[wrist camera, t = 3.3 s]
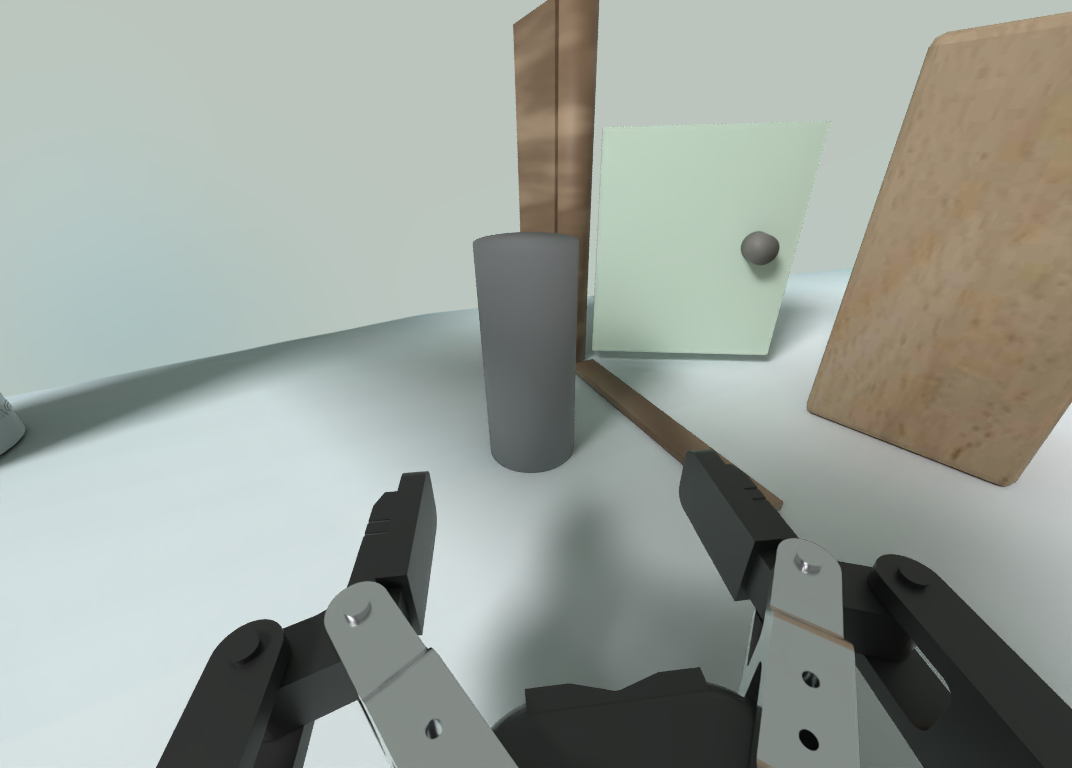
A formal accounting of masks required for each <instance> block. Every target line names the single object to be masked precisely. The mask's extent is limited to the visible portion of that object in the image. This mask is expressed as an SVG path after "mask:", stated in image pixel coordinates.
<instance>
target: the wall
mask: <svg viewBox="0 0 1072 768" xmlns="http://www.w3.org/2000/svg"><path fill="white" fill-rule="evenodd" d="M598 17H599V0H547V1H546V2H545V3H543V4H542V5H540V6H539V7H537V8H536V9H535V10H533V11H532V12H530V13H529V14H528V15H526V16H525V17H523V18H522V19H520V20H519V21H518V22H516V23H515V24H513V31H514V60H515V86H516V87H515V89H516V117H517V146H518V174H519V202H520V203H519V204H520V232H548V233H559V234H566V235H570V236H574V237H576V238H578V239H579V264H578V299H577V333H576V368H575V373H576V374H577V375H579V376H580V377H581V378H582V379H583V380H584V381H586V382H587V383H588V384H589V385H590V386H591V387H593V388H594V389H595V390H596V391H597V392H599V393H600V394H601V395H602V396H603V397H604V398H606V399H607V400H608V401H609V402H610V403H611V404H613V405H614V406H615V407H616V408H617V409H618V410H620V411H621V412H622V413H623V414H624V415H625V416H627V417H628V418H629V419H630V420H631V421H632V422H634V423H635V424H636V425H637V426H638V427H639V428H641V429H642V430H643V431H644V432H645V433H647V434H648V435H649V436H650V437H651V438H652V439H654V440H655V441H656V442H657V443H658V444H659V445H661V446H662V447H663V448H664V449H665V450H666V451H668V452H669V453H670V454H671V455H672V456H673V457H675V458H676V459H677V460H678V461H679V462H680V463H682V464H683V465H684V460H685V455H686V453H687V452H688V451H693V450H706V449H712V448H711V447H709V446H708V445H707V444H705V443H704V442H703V441H701V440H700V439H699V438H697V437H696V436H695V435H693V434H692V433H691V432H689V431H688V430H687V429H685V428H684V427H683V426H681V425H680V424H679V423H677V422H676V421H675V420H673V419H672V418H671V417H669V416H668V415H667V414H665V413H664V412H663V411H661V410H660V409H659V408H657V407H656V406H655V405H653V404H652V403H651V402H649V401H648V400H647V399H645V398H644V397H643V396H641V395H640V394H639V393H637V392H636V391H635V390H633V389H632V388H631V387H629V386H628V385H627V384H625V383H624V382H623V381H621V380H620V379H619V378H617V377H616V376H615V375H613V374H612V373H611V372H609V371H608V370H607V369H605V368H604V367H603V366H601V365H600V364H599V363H597V362H596V361H595V360H593V359H591V360H587V361H583V360H584V358H585V335H586V311H587V285H588V260H589V237H590V212H591V188H592V186H591V185H592V163H593V138H594V115H595V111H594V110H595V90H596V89H595V88H596V63H597V40H598ZM717 454H718V455H719V456H720V458H721V459H722V460H723V461H724V463H725V464H732V463H731V462H729V461H728V460H727V459H725V458H724V457H723V456H721V455H720V454H719V453H717ZM734 466H735V465H734ZM735 467H736V466H735ZM738 469H739V468H738ZM749 478H750V479H751V480H752V481H753V482H754V484H755V485H756V486H757V489H758V490H760V491H761V492H762V494H763V495H764V496H765V497H766V500H768V501H769V502H770V503H771V505H772V506H773V507H774V508H775V510H776V511H778V510H780V509H781V506H782V504H783V501H782V500H780V499H779V498H778V497H776V496H775V495H774V494H772V493H771V492H770V491H768V490H767V489H766V488H764V487H763V486H762V485H760V484H759V483H757V482H756V481H755V480H753V479H752V478H751V477H749Z"/></svg>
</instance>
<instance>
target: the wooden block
mask: <svg viewBox="0 0 1072 768" xmlns="http://www.w3.org/2000/svg"><path fill="white" fill-rule="evenodd" d="M1071 402H1072V12H1067V13H1061V14H1054V15H1048V16H1043V17H1036V18H1030V19H1024V20H1018V21H1012V22H1006V23H1000V24H994V25H987V26H981V27H975V28H969V29H963V30H957V31H951V32H947V33H945V34H943V35H941V36H939V37H937V38H935V40H934V41H933V43H932V44H931V46H930V47H929V48H928V51H927V54H926V57H925V60H924V63H923V66H922V69H921V72H920V75H919V77H918V80H917V83H916V86H915V89H914V92H913V95H912V98H911V101H910V104H909V107H908V109H907V112H906V115H905V118H904V121H903V125H902V127H901V131H900V133H899V136H898V139H897V142H896V145H895V147H894V151H893V154H892V156H891V160H890V162H889V165H888V168H887V171H886V174H885V177H884V180H883V183H882V186H881V189H880V191H879V194H878V197H877V200H876V203H875V206H874V209H873V212H872V215H871V218H870V221H869V224H868V226H867V230H866V232H865V235H864V238H863V241H862V244H861V247H860V250H859V253H858V256H857V259H856V262H855V264H854V267H853V270H852V273H851V276H850V279H849V282H848V285H847V288H846V291H845V294H844V297H843V299H842V302H841V305H840V308H839V311H838V314H837V317H836V320H835V323H834V326H833V329H832V332H831V335H830V337H829V340H828V343H827V346H826V349H825V352H824V355H823V358H822V361H821V364H820V367H819V370H818V373H817V375H816V378H815V381H814V384H813V387H812V390H811V393H810V396H809V399H808V402H807V410H808V411H810V412H811V413H813V414H816V415H819V416H821V417H824V418H826V419H829V420H832V421H834V422H837V423H839V424H842V425H845V426H847V427H850V428H852V429H855V430H857V431H860V432H863V433H865V434H868V435H870V436H873V437H876V438H878V439H881V440H883V441H886V442H888V443H891V444H894V445H896V446H899V447H901V448H904V449H907V450H909V451H912V452H914V453H917V454H919V455H922V456H925V457H927V458H930V459H932V460H935V461H938V462H940V463H943V464H945V465H948V466H950V467H953V468H956V469H958V470H961V471H963V472H966V473H969V474H971V475H974V476H976V477H979V478H981V479H984V480H987V481H989V482H992V483H994V484H997V485H1002V486H1008V485H1010V484H1012V483H1015V482H1016V481H1017V480H1018V478H1019V477H1020V475H1021V474H1022V473H1023V471H1024V470H1025V468H1026V467H1027V465H1028V464H1029V463H1030V461H1031V460H1032V458H1033V457H1034V455H1035V454H1036V453H1037V451H1038V450H1039V448H1040V447H1041V445H1042V444H1043V442H1044V441H1045V440H1046V438H1047V437H1048V435H1049V434H1050V432H1051V431H1052V430H1053V428H1054V427H1055V425H1056V424H1057V422H1058V421H1059V419H1060V418H1061V417H1062V415H1063V414H1064V412H1065V411H1066V409H1067V408H1068V407H1069V405H1070V404H1071Z"/></svg>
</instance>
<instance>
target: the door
mask: <svg viewBox="0 0 1072 768" xmlns="http://www.w3.org/2000/svg"><path fill="white" fill-rule="evenodd" d="M829 125H830V121H823V122H788V123H753V124H752V123H749V124H716V125H715V124H713V125H679V126H678V125H677V126H640V127H605V128H603V132H602V153H601V174H600V193H599V215H598V234H597V254H596V274H595V276H596V277H595V294H594V314H593V335H592V351H629V352H667V353H705V354H744V355H767V354H768V350H769V347H770V343H771V339H772V336H773V332H774V328H775V325H776V321H777V317H778V314H779V310H780V306H781V303H782V299H783V295H784V291H785V288H786V284H787V280H788V277H789V273H790V269H791V266H792V262H793V258H794V255H795V251H796V247H797V243H798V240H799V236H800V232H801V229H802V225H803V221H804V217H805V214H806V210H807V207H808V202H809V199H810V195H811V192H812V188H813V184H814V181H815V176H816V173H817V170H818V166H819V162H820V158H821V155H822V151H823V147H824V144H825V140H826V136H827V133H828V129H829Z"/></svg>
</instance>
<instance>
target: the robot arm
mask: <svg viewBox="0 0 1072 768" xmlns="http://www.w3.org/2000/svg"><path fill="white" fill-rule="evenodd" d="M25 429H26V428H25V426H24V424H23V423H22V421H21V420H20V419H19V417H18V416H17V415H16V413H15V412H14V410H13V409H12V406H11V405H10V403H9V402H8V401H7V400H6V399H5V398H4V397H3V395H2V394H1V393H0V454H2V453H4V452H5V451H7V450H8V449H9V448H11V447H12V446H13V445H14V444H16V443H17V442H18V441H19V440H20V439H21V437H22V436H23V435H24V433H25ZM679 497H680V501H681V505H682V507H683V509H684V511H685V513H686V514H687V516H688V518H689V520H690V522H691V523H692V525H693V527H694V529H695V531H696V532H697V534H698V536H699V538H700V540H701V541H702V543H703V545H704V547H705V549H706V550H707V552H708V554H709V556H710V558H711V559H712V561H713V563H714V565H715V567H716V568H717V570H718V572H719V574H720V576H721V577H722V579H723V581H724V583H725V585H726V586H727V588H728V590H729V592H730V594H731V595H732V597H733V599H734V601H741V600H751V601H752V603H753V605H754V607H755V609H754V611H753V615H752V621H751V627H750V633H749V639H748V645H747V651H746V657H745V663H744V669H743V675H742V679H741V683H740V687H739V690H738V694H737V693H735V692H734V691H731V690H729V689H727V688H724V687H722V686H719V685H715V684H712V683H708V682H706V681H705V678H704V676H703V673H702V671H701V669H700V667H697V668H689V669H681V670H673V671H665V672H658V673H656V674H654V675H651V676H649V677H647V678H645V679H643V680H641V681H639V682H636V683H634V684H632V685H630V686H628V687H626V688H624V689H622V690H618V691H611V690H605V689H599V688H593V687H587V686H581V685H575V684H561V685H553V686H545V687H537V688H529V689H525V697H526V704H523V705H521V706H519V707H517V708H515V709H514V710H512V711H511V712H509V713H508V714H506V715H505V716H504V717H503V718H501V719H500V720H499V721H498V722H497V723H496V724H495V725H494V726H493V727H492V728H490V727H489V725H488V724H487V723H486V721H485V720H484V718H483V717H482V715H481V714H480V713H479V711H478V710H477V708H476V707H475V706H474V704H473V703H472V701H471V700H470V698H469V697H468V696H467V694H466V693H465V691H464V690H463V689H462V687H461V686H460V684H459V683H458V681H457V680H456V679H455V677H454V676H453V674H452V673H451V672H450V670H449V669H448V667H447V666H446V664H445V663H444V662H443V660H442V659H441V657H440V656H439V655H438V654H437V652H436V651H435V650H434V649H433V648H429V649H428V648H427V647H426V646H425V645H424V644H423V642H422V641H421V639H420V638H419V637H418V635H422V633H423V625H424V618H425V610H426V603H427V595H428V588H429V580H430V573H431V565H432V558H433V550H434V543H435V535H436V527H437V515H436V506H435V501H434V495H433V490H432V484H431V478H430V474H429V472H428V471H425V472H413V473H403V474H402V476H401V480H400V484H399V488H398V491H395V492H385V493H384V494H383V495H382V496H381V498H380V499H379V500H378V501H377V502H376V503H375V505H374V506H373V509H372V512H371V515H370V518H369V524H367V528H366V531H365V536H364V537H363V540H362V543H361V546H360V549H359V552H358V556H357V559H356V562H355V565H354V568H353V571H352V574H351V577H350V581H349V583H348V586H347V588H346V589H344V590H343V591H341V592H340V593H339V594H338V595H337V596H336V597H335V598H334V599H333V600H332V601H331V603H330V604H329V606H328V608H327V609H326V610H325V611H323V612H322V613H320V614H318V615H316V616H314V617H311V618H309V619H306V620H304V621H301V622H299V623H296V624H293V625H291V626H288V627H286V628H283V629H282V627H281V626H280V625H279V624H278V623H277V622H275V621H273V620H267V619H263V620H256V621H253V622H250V623H247V624H245V625H243V626H241V627H239V628H238V629H236V630H235V631H233V632H232V633H231V634H229V635H228V636H227V637H226V638H225V639H224V640H223V641H222V642H221V643H220V644H219V645H218V646H217V647H216V649H215V650H214V652H213V653H212V655H211V657H210V659H209V661H208V663H207V665H206V667H205V669H204V671H203V673H202V675H201V677H200V679H199V681H198V683H197V685H196V687H195V689H194V691H193V693H192V695H191V697H190V699H189V701H188V704H187V706H186V708H185V710H184V712H183V714H182V716H181V718H180V720H179V722H178V724H177V726H176V728H175V730H174V732H173V734H172V736H171V738H170V740H169V742H168V744H167V746H166V748H165V750H164V752H163V755H162V757H161V759H160V761H159V763H158V765H157V767H156V768H303V765H304V761H305V757H306V753H307V749H308V745H309V741H310V737H311V733H312V729H313V725H314V721H315V720H316V719H318V718H320V717H322V716H325V715H327V714H329V713H331V712H333V711H335V710H337V709H339V708H341V707H343V706H345V705H347V704H350V703H352V702H354V701H356V700H357V701H358V703H359V705H360V707H361V709H362V711H363V713H364V715H365V717H366V719H367V721H368V723H369V725H370V727H371V729H372V731H373V733H374V735H375V737H376V739H377V741H378V743H379V745H380V747H381V749H382V751H383V753H384V755H385V757H386V759H387V761H388V763H389V765H390V768H860V750H859V730H858V711H857V691H856V671H855V665H856V666H857V668H858V669H859V671H860V672H861V674H862V675H863V677H864V678H865V680H866V681H867V683H868V684H869V686H870V687H871V689H872V690H873V692H874V693H875V695H876V696H877V698H878V699H879V701H880V702H881V704H882V705H883V707H884V708H885V710H886V711H887V713H888V714H889V716H890V717H891V719H892V720H893V722H894V723H895V725H896V726H897V728H898V729H899V731H900V732H901V734H902V735H903V737H904V738H905V740H906V741H907V743H908V744H909V746H910V747H911V749H912V750H913V752H914V753H915V755H916V756H917V758H918V759H919V761H920V762H921V764H922V765H923V767H924V768H1072V709H1071V708H1070V707H1069V706H1068V705H1067V704H1066V703H1065V702H1064V701H1063V700H1062V699H1061V698H1060V697H1059V696H1058V695H1057V694H1056V693H1055V692H1054V691H1053V690H1052V689H1051V688H1050V687H1049V686H1048V685H1047V684H1046V683H1045V682H1044V681H1043V680H1042V679H1041V678H1040V677H1039V676H1038V675H1037V674H1036V673H1035V672H1034V671H1033V670H1032V669H1031V668H1030V667H1029V666H1028V665H1027V664H1026V663H1025V662H1024V661H1023V660H1022V659H1021V658H1020V657H1019V656H1018V655H1017V654H1016V653H1015V652H1014V651H1013V650H1012V649H1011V648H1010V647H1009V646H1008V645H1007V644H1006V643H1005V642H1004V641H1003V640H1002V639H1001V638H1000V637H999V636H998V635H997V634H996V633H995V632H994V631H993V630H992V629H991V628H990V627H989V626H988V625H987V624H986V623H985V622H984V621H983V620H982V619H981V618H980V617H979V616H978V615H977V614H976V613H975V612H974V611H973V610H972V609H971V608H970V607H969V606H968V605H967V604H966V603H965V602H964V601H963V600H962V599H961V598H960V597H959V596H958V595H957V594H956V593H955V592H954V591H953V590H952V589H951V588H950V587H949V586H948V585H947V584H946V583H945V582H944V581H943V580H942V579H941V578H940V577H939V576H938V575H937V574H936V573H935V572H933V571H932V570H931V569H929V568H928V567H926V566H925V565H923V564H921V563H919V562H917V561H915V560H913V559H910V558H907V557H904V556H900V555H894V554H888V555H883V556H881V557H879V558H878V559H877V561H876V562H875V564H874V566H873V567H868V566H862V565H856V564H850V563H845V562H839V561H837V560H836V559H835V558H834V557H833V556H832V555H831V554H830V553H829V552H828V551H826V550H825V549H824V548H822V547H821V546H819V545H817V544H815V543H813V542H810V541H807V540H803V539H799V538H798V537H797V535H796V534H795V533H794V532H793V530H792V529H791V528H790V527H789V525H788V524H787V523H786V522H785V521H784V519H783V518H782V517H781V516H780V514H779V513H778V512H777V511H776V510H775V508H774V507H773V506H772V505H771V503H770V502H769V501H768V500H766V497H765V496H764V495H763V494H762V492H761V491H760V490H758V489H757V486H756V485H755V484H754V482H753V481H752V480H751V479H750V478H749V476H748V475H747V474H746V473H744V472H743V471H741V470H740V469H738V468H737V467H735V466H734V465H733V464H725V463H724V461H723V460H722V459H721V458H720V456H719V455H718V454H717V452H716V451H715V450H713V449H706V450H693V451H688V452H687V453H686V455H685V460H684V465H683V470H682V476H681V481H680V486H679ZM916 646H918V647H919V649H920V650H921V651H922V652H923V654H924V655H925V656H926V657H927V658H928V660H929V661H930V662H931V663H932V665H933V666H934V667H935V668H936V670H937V671H938V672H939V673H940V674H941V676H942V677H943V678H944V680H945V681H946V683H947V685H948V687H949V689H950V692H951V694H950V692H949V691H948V690H947V689H946V687H945V686H944V685H943V684H942V682H941V681H940V680H939V679H938V677H937V676H936V675H935V674H934V672H933V671H932V670H931V669H930V667H929V666H928V665H927V664H926V662H925V661H924V660H923V659H922V657H921V656H920V655H919V654H918V653H917V651H916V650H915V649H914V648H915V647H916Z"/></svg>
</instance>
